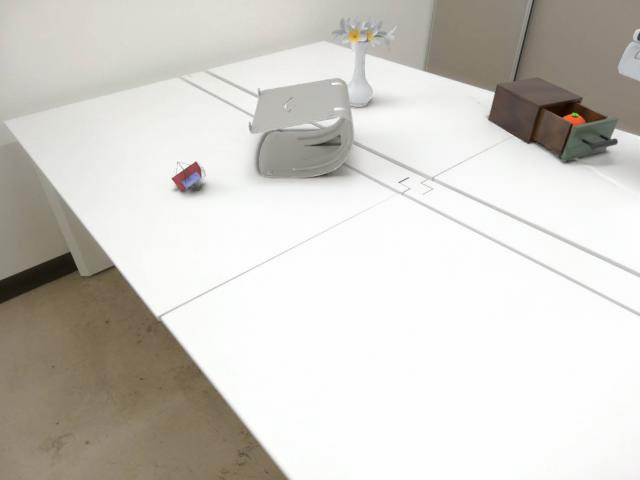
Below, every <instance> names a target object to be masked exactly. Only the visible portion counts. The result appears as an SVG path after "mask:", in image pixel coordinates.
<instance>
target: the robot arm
mask: <svg viewBox="0 0 640 480" xmlns="http://www.w3.org/2000/svg"><path fill="white" fill-rule="evenodd" d="M619 60H620V61H619V63H618V64H617V71H618V74H619V75H621V76H624V77H626V78H629V79H632V80H635V81H638V82H640V28H638V29H636V30H635V31H634V33H633V36H632V41H631V42H629V44H628V45H627V46H626V48H625V50H624V52H623V54H622V56H621V58H620V59H619Z"/></svg>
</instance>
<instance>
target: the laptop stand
mask: <svg viewBox="0 0 640 480" xmlns="http://www.w3.org/2000/svg"><path fill="white" fill-rule="evenodd" d="M347 84H348V83H347V82H346V80H344V79H343V78H340V77H334V78H328V79H322V80H315V81H309V82H304V83H297V84H292V85H285V86H280V87H273V88H267V89H263V90H260V87H258V88H257V95H258V99H257V103H256V107H255V112H254V115H253V118H252V122H251V121H248V130H249V133H250V134H252V135H254V134H255V135H256V134H260V133H265V132H266V133H267V132H271V133H269V134H267V135H266V137H265V138H264V140H263V142H262V145H261V147H260V150H259V154H258V169H259V173H260V175H261V176H263V177H265V178H269V179H270V178H272V179H305V178H312V177H318V176H322V175H325V174H329V173H330V172H333V171H335V170H337V169H338V168H340V167H341V166H342V165H343V164H344V163H345V162H346V160H347V159H348V158H349V156H350V154H351V152H352V148H353V145H354V140H355V127H354V120H353V114H352V108H351V107H352V106H351V105H350V99H349V92H348V87H347ZM334 119H338V120H336V122H335V123H333V124H331V125H329V126H327V127H324V128H321V129H316V130H311V131H310V130H309V131H277V130H281V129H287V128H291V127H297V126H301V125H302V126H303V125H308V124H312V123H318V122H322V121H328V120H334ZM275 130H276V132H272V131H275ZM339 136H340V141H341V144H340V145H322V144H324V143H328V142H329V141H332V140H334V139H336V138H338V137H339ZM320 144H321V145H320Z"/></svg>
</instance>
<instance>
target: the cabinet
mask: <svg viewBox="0 0 640 480" xmlns="http://www.w3.org/2000/svg"><path fill="white" fill-rule="evenodd" d="M583 98H584V97H583V96H581V95H578V94H576V93H574V92H571V91H569V90H568V89H565V88H563V87H560V86H558V85H557V84H554V83H551V82H549V81H547V80H545V79H543V78H541V77H539V76H537V77H532V78H524V79H519V80H513V81H508V82H507V81H506V82H501V83H497V84H496V87H495V91H494V95H493V99H492V103H491V107H490V110H489V111H490V112H489V114H488V119H487V120H488V121H489V122H491V123H493V124H495V125H496V126H498V127H499V128H501V129H503V130H504V131H506V132H508V133H509V134H511V135H513V136H514V137H516V138H518V139H519V140H521V141H523V142H524V143H525V144H527V145H528V144H532V143H533V144H534V143H538V142H537V141H536V140H534V139H532V135H533V132H534V128H535V125H536V122H537V119H538V116H539V112H540V109H541V108H545V107H550V106H555V105H560V104H565V103H571V102H578V103H580V104H582V101H583Z"/></svg>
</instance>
